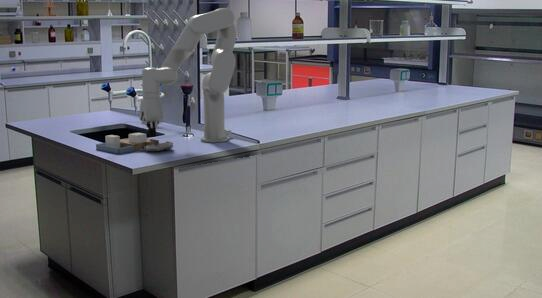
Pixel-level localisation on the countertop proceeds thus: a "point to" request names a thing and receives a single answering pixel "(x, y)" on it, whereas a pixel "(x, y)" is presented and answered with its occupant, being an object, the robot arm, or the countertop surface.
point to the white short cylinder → (113, 141)
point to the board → (137, 144)
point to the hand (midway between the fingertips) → (152, 136)
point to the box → (114, 149)
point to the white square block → (137, 137)
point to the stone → (159, 146)
